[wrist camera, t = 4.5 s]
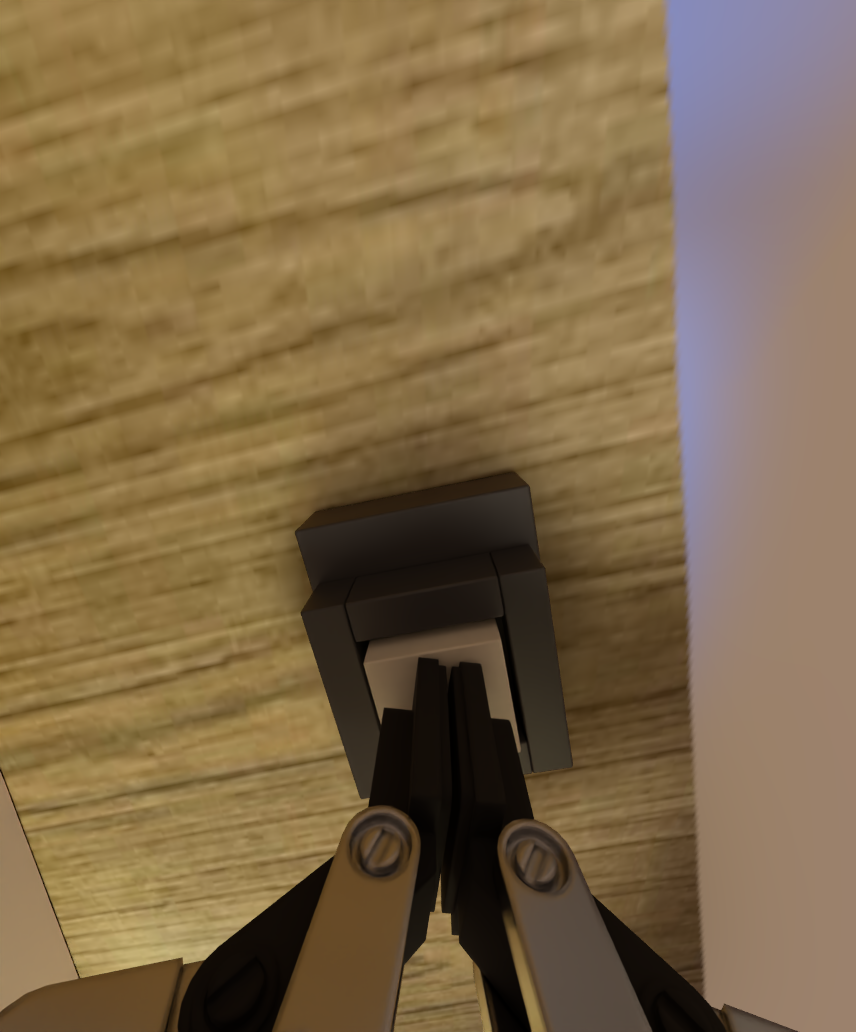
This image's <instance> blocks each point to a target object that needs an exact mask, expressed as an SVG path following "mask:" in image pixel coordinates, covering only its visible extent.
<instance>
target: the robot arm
mask: <svg viewBox="0 0 856 1032" xmlns="http://www.w3.org/2000/svg"><path fill="white" fill-rule="evenodd" d="M440 874H441V907H442V913H451V927H452V935H459V943H460V945H461V946H462V947H463V949H464V950H465V951H466V952H467V954H468V955H469V956H470V958H471V959H472V960H473V973H474V982H475V987H476V993H477V998H478V1004H479V1009H480V1015H481V1020H482V1026H483V1031H484V1032H798V1031H795V1030H792V1029H790V1028H787V1027H785V1026H782V1025H779V1024H777V1023H774V1022H771V1021H769V1020H766V1019H763V1018H761V1017H758V1016H756V1015H753V1014H750V1013H748V1012H745V1011H742V1010H739V1009H737V1008H734V1007H731V1006H729V1005H726V1004H724V1006H723V1008H722V1010H718V1009H716V1008H713V1007H711V1006H710V1005H709V1003H708V1002H707V1001H706V1000H705V999H704V998H703V997H702V996H701V995H700V994H699V993H698V992H697V990H696V989H695V988H694V987H693V986H691V985H690V984H689V983H688V982H687V981H686V980H685V979H684V978H683V977H682V976H681V975H679V974H678V973H677V972H676V971H675V970H674V969H673V968H672V967H671V966H670V965H668V964H667V963H666V962H665V961H664V960H663V959H662V958H661V957H660V956H659V955H658V954H656V953H655V952H654V951H653V950H652V949H651V948H650V947H649V946H648V945H647V944H646V943H644V942H643V941H642V940H641V939H640V938H639V937H638V936H637V935H636V934H635V933H633V932H632V931H631V930H630V929H629V928H628V927H627V926H626V925H625V924H624V923H623V922H621V921H620V920H619V919H618V918H617V917H616V916H615V915H614V914H613V913H612V912H611V911H609V910H608V909H607V908H606V907H605V906H604V905H603V904H602V903H601V902H600V901H598V900H597V899H596V898H595V897H594V896H593V895H592V894H591V892H590V890H589V887H588V885H587V883H586V881H585V878H584V876H583V874H582V872H581V869H580V867H579V865H578V863H577V860H576V858H575V856H574V854H573V852H572V850H571V849H570V847H569V845H568V844H567V842H566V841H565V840H564V839H563V838H562V837H561V835H560V834H559V833H558V832H557V831H555V830H554V829H552V828H551V827H549V826H548V825H547V824H545V823H542V822H539V821H537V820H534V817H533V813H532V808H531V804H530V800H529V796H528V792H527V787H526V783H525V779H524V775H523V771H522V767H521V762H520V758H519V754H518V750H517V746H516V742H515V737H514V733H513V729H512V725H511V722H510V721H509V720H507V719H497V718H491V715H490V709H489V704H488V698H487V693H486V687H485V682H484V676H483V671H482V666H481V664H480V663H470V662H460V664H459V667H454V666H452V668H451V674H450V681H449V688H448V693H447V673H446V666H444V665H439V660H438V659H431V658H421V657H418V663H417V671H416V680H415V688H414V697H413V705H412V710H405V709H395V708H385V707H384V710H383V716H382V722H381V729H380V735H379V742H378V748H377V754H376V761H375V767H374V774H373V780H372V786H371V793H370V799H369V806H368V808H366V809H364V810H362V811H361V812H359V813H357V814H356V815H355V816H354V817H353V818H352V819H351V820H350V821H349V823H348V824H347V826H346V828H345V830H344V832H343V834H342V837H341V840H340V843H339V845H338V848H337V851H336V854H335V855H334V856H333V857H332V858H330V859H329V860H328V861H327V862H325V863H324V864H323V865H322V866H320V867H319V868H318V869H316V870H315V871H314V872H313V873H311V874H310V875H309V876H308V877H306V878H305V879H304V880H303V881H301V882H300V883H299V884H297V885H296V886H295V887H294V888H292V889H291V890H290V891H289V892H287V893H286V894H285V895H284V896H282V897H281V898H280V899H278V900H277V901H276V902H275V903H273V904H272V905H271V906H270V907H268V908H267V909H266V910H265V911H263V912H262V913H261V914H259V915H258V916H257V917H256V918H254V919H253V920H252V921H251V922H249V923H248V924H247V925H246V926H244V927H243V928H242V929H241V930H239V931H238V932H237V933H235V934H234V935H233V936H232V937H230V938H229V939H228V940H227V941H225V942H224V943H223V944H222V945H220V946H219V947H218V948H217V949H216V950H215V951H214V952H213V953H212V954H211V955H210V956H209V957H208V958H207V959H206V960H203V961H198V962H193V963H189V964H184V965H183V957H182V958H178V959H173V960H168V961H163V962H158V963H153V964H148V965H143V966H138V967H134V968H129V969H124V970H119V971H114V972H109V973H104V974H99V975H94V976H90V977H85V978H80V979H75V980H70V981H65V982H60V983H55V984H51V985H46V986H44V987H41V988H39V989H36V990H33V991H31V992H28V993H26V994H24V995H23V996H21V997H20V998H19V999H17V1000H16V1001H14V1002H13V1003H11V1004H10V1005H9V1006H7V1007H6V1008H4V1009H3V1010H2V1011H1V1012H0V1032H394V1026H395V1020H396V1014H397V1007H398V1001H399V995H400V989H401V983H402V977H403V971H404V964H405V963H406V962H407V961H408V960H409V959H410V958H411V956H412V955H413V954H414V953H415V952H416V951H417V949H418V948H419V947H420V946H421V945H422V944H423V943H424V941H425V940H426V934H427V928H428V921H429V915H430V912H434V910H435V904H436V898H437V892H438V886H439V880H440Z"/></svg>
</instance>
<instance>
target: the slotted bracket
mask: <svg viewBox="0 0 856 1032" xmlns="http://www.w3.org/2000/svg"><path fill="white" fill-rule="evenodd" d="M75 979H79V978H78V975H77V972H76V970H75V967H74V964H73V962H72V959H71V956H70V954H69V951H68V948H67V946H66V943H65V941H64V938H63V935H62V933H61V930H60V927H59V925H58V922H57V919H56V917H55V914H54V911H53V909H52V906H51V904H50V901H49V898H48V896H47V893H46V890H45V888H44V885H43V882H42V880H41V877H40V874H39V872H38V869H37V867H36V864H35V861H34V859H33V856H32V853H31V851H30V848H29V845H28V843H27V840H26V837H25V835H24V832H23V830H22V827H21V824H20V822H19V819H18V816H17V814H16V811H15V808H14V806H13V803H12V800H11V798H10V795H9V793H8V790H7V787H6V785H5V782H4V779H3V777H2V774H1V772H0V1012H1V1011H2V1010H3V1009H4V1008H6V1007H7V1006H9V1005H10V1004H11V1003H13V1002H14V1001H16V1000H17V999H19V998H20V997H21V996H23V995H24V994H26V993H28V992H31V991H33V990H36V989H39V988H41V987H44V986H46V985H51V984H55V983H60V982H65V981H70V980H75Z"/></svg>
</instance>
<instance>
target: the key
mask: <svg viewBox="0 0 856 1032" xmlns="http://www.w3.org/2000/svg"><path fill="white" fill-rule="evenodd" d="M418 657H421V658H431V659H438V660H439V665H444V666H446V673H447V693H448V688H449V681H450V674H451V668H452V666H454V667H459V664H460V662H470V663H480V664H481V666H482V671H483V676H484V682H485V687H486V693H487V698H488V704H489V709H490V715H491V718H497V719H507V720H509V721H510V722H511V725H512V729H513V733H514V737H515V742H516V746H517V750H518V752H521V746H520V741H519V735H518V730H517V724H516V719H515V713H514V708H513V702H512V697H511V691H510V686H509V680H508V675H507V669H506V664H505V658H504V653H503V647H502V642H501V638H500V634H499V630H498V627H497V623H496V620H495V618H490V619H485V620H479V621H473V622H468V623H462V624H456V625H451V626H445V627H440V628H434V629H428V630H423V631H417V632H411V633H406V634H400V635H394V636H389V637H383V638H377V639H372V640H370V641H369V645H368V649H367V653H366V656H365V660H364V668H365V671H366V675H367V678H368V682H369V685H370V688H371V692H372V695H373V699H374V702H375V706H376V709H377V713H378V716H379V720H380V723H381V722H382V716H383V710H384V707H385V708H395V709H405V710H412V705H413V697H414V688H415V680H416V671H417V663H418Z"/></svg>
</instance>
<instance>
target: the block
mask: <svg viewBox="0 0 856 1032" xmlns="http://www.w3.org/2000/svg"><path fill="white" fill-rule="evenodd" d="M295 535H296V538H297V541H298V544H299V548H300V551H301V554H302V557H303V561H304V564H305V567H306V570H307V574H308V577H309V580H310V583H311V586H312V590H313V593H312V595H311V597H310V598H309V600H308V601H307V603H306V605H305V606H304V608H303V610H302V611H301V616H302V619H303V622H304V625H305V628H306V631H307V634H308V637H309V641H310V644H311V647H312V650H313V653H314V656H315V659H316V662H317V665H318V668H319V672H320V675H321V678H322V681H323V684H324V687H325V690H326V693H327V696H328V699H329V703H330V706H331V709H332V712H333V715H334V718H335V721H336V724H337V727H338V730H339V734H340V737H341V740H342V743H343V746H344V749H345V752H346V755H347V758H348V761H349V765H350V768H351V771H352V774H353V777H354V780H355V783H356V786H357V789H358V792H359V796H360V798H361V799H366V798H370V793H371V786H372V780H373V774H374V767H375V761H376V754H377V748H378V742H379V735H380V729H381V723H380V720H379V716H378V713H377V709H376V706H375V702H374V699H373V695H372V692H371V688H370V685H369V682H368V678H367V675H366V671H365V668H364V660H365V656H366V653H367V649H368V645H369V641H370V640H372V639H377V638H383V637H389V636H394V635H400V634H406V633H411V632H417V631H423V630H428V629H434V628H440V627H445V626H451V625H456V624H462V623H468V622H473V621H479V620H485V619H490V618H495V620H496V623H497V627H498V630H499V634H500V638H501V642H502V647H503V653H504V658H505V664H506V669H507V675H508V680H509V686H510V691H511V697H512V702H513V708H514V713H515V719H516V724H517V730H518V735H519V741H520V746H521V752H518V754H519V758H520V762H521V767H522V771H523V775H524V774H531V773H532V771H533V772H534V773H537V772H544V771H551V770H557V769H564V768H571V767H573V762H572V755H571V748H570V741H569V734H568V727H567V720H566V713H565V706H564V699H563V692H562V684H561V677H560V670H559V663H558V656H557V649H556V642H555V635H554V628H553V621H552V614H551V607H550V600H549V593H548V586H547V579H546V572H545V568H544V566H543V565H542V563H541V562H540V555H539V548H538V541H537V534H536V527H535V520H534V513H533V506H532V500H531V493H530V487H529V485H528V484H527V483H526V482H525V481H524V480H523V479H522V478H520V477H519V476H518V475H517V474H516V473H515V472H512V473H507V474H502V475H497V476H492V477H487V478H482V479H477V480H472V481H467V482H462V483H457V484H452V485H447V486H442V487H437V488H432V489H427V490H422V491H417V492H412V493H407V494H402V495H397V496H392V497H387V498H382V499H377V500H372V501H367V502H362V503H357V504H353V505H348V506H343V507H338V508H333V509H328V510H323V511H318V512H315V513H314V514H312V515H311V516H310V517H309V518H308V519H307V520H306V521H305V522H304V523H303V524H302V525H301V526H300V527H299V528H298V529H297V530H296V531H295Z"/></svg>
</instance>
